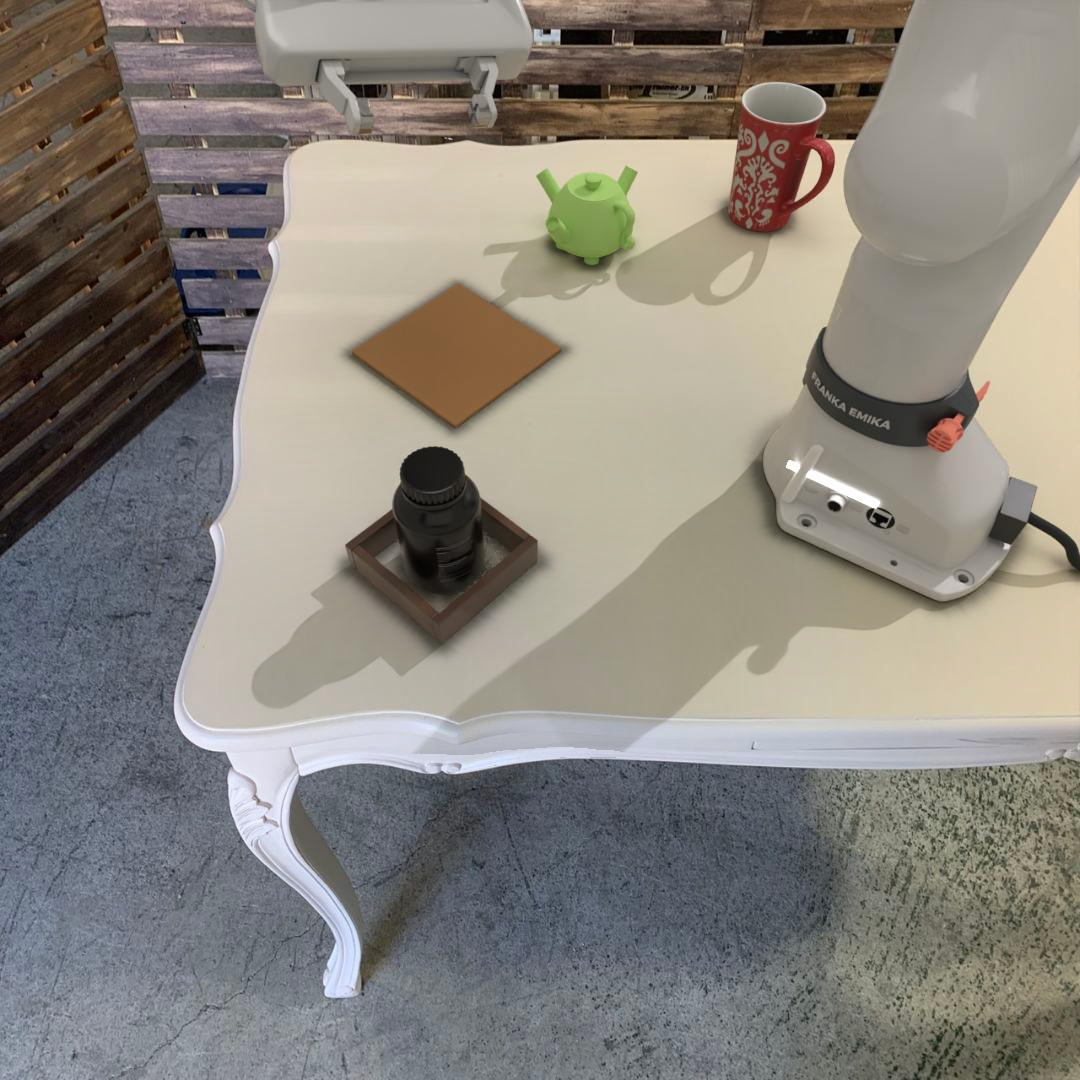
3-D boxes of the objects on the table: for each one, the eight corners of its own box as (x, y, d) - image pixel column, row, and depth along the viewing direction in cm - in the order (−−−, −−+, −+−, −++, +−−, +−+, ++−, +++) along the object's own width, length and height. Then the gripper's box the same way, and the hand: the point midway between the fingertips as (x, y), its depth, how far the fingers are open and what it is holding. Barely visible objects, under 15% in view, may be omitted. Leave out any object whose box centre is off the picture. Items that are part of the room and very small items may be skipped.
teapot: (644, 274, 99) (653, 205, 92) (540, 277, 99) (542, 208, 92) (631, 215, 106) (639, 147, 99) (534, 217, 105) (535, 148, 98)
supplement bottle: (490, 535, 77) (485, 439, 68) (479, 601, 73) (472, 509, 64) (411, 527, 78) (395, 431, 68) (396, 593, 74) (377, 501, 64)
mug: (703, 206, 107) (724, 94, 96) (760, 184, 110) (787, 73, 99) (774, 262, 101) (805, 149, 90) (833, 237, 104) (869, 124, 93)
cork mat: (561, 351, 91) (561, 348, 91) (455, 428, 85) (455, 425, 84) (458, 286, 97) (458, 283, 97) (351, 354, 91) (351, 351, 90)
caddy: (537, 561, 76) (538, 540, 73) (442, 645, 71) (439, 625, 68) (446, 491, 80) (444, 469, 78) (350, 565, 75) (344, 544, 73)
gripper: (229, -86, 59) (286, 102, 57) (509, -73, 67) (565, 92, 66) (226, -11, 65) (277, 162, 63) (484, -8, 73) (535, 145, 71)
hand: (426, 126), depth 65 cm, fingers open, 8 cm apart
